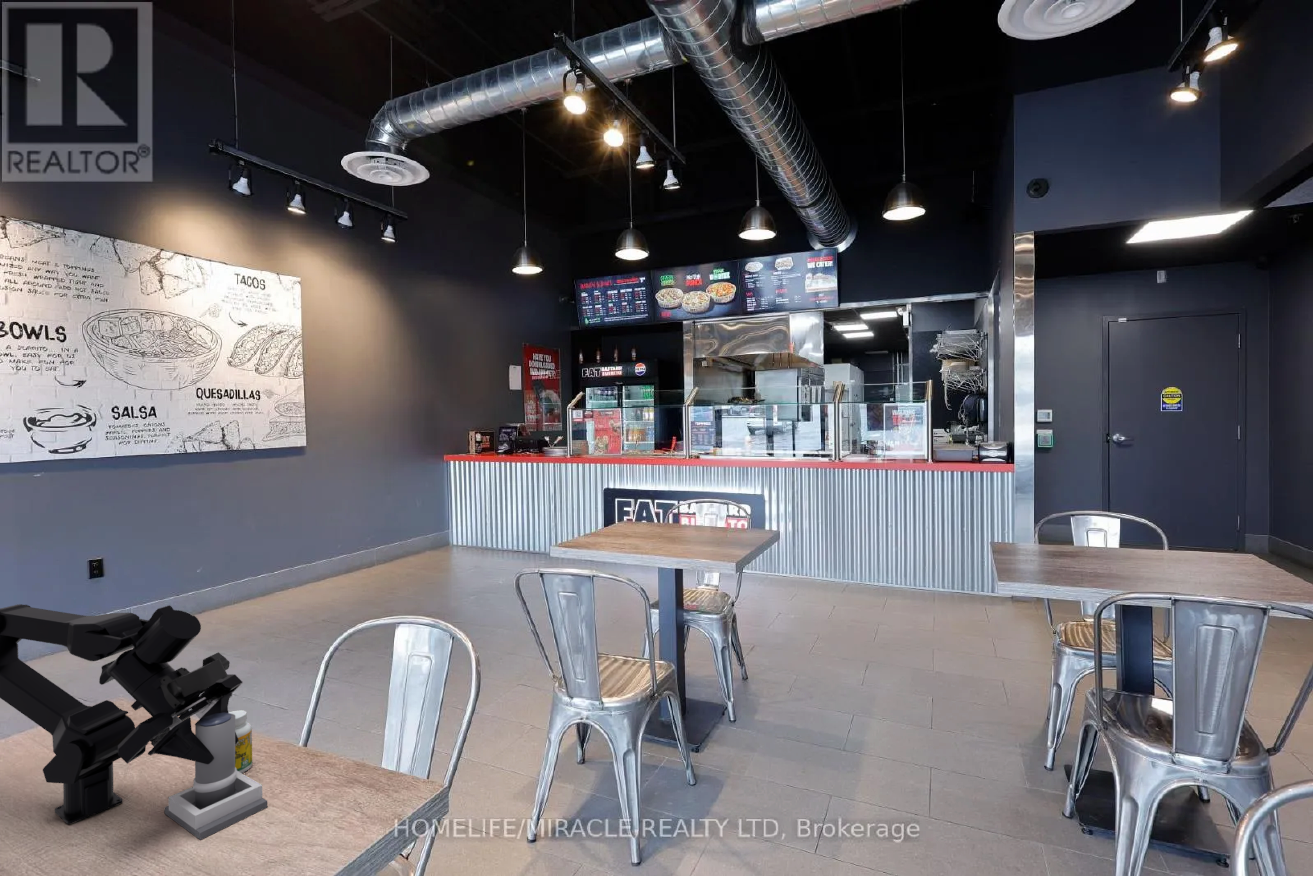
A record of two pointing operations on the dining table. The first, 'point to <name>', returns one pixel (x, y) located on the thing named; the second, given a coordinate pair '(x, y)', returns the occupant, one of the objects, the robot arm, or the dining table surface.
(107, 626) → the robot arm
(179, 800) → the grey white tray
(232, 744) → the lens
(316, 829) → the dining table surface
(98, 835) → the dining table surface
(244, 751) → the supplement bottle
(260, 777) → the dining table surface
